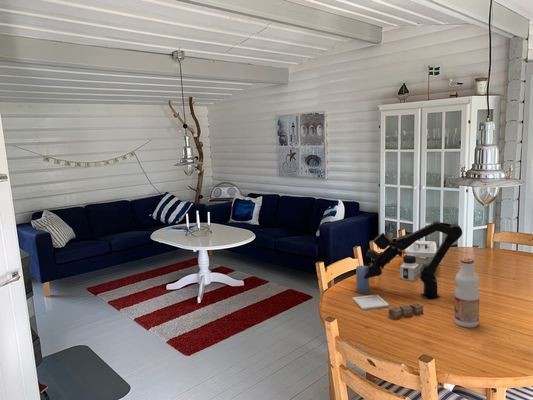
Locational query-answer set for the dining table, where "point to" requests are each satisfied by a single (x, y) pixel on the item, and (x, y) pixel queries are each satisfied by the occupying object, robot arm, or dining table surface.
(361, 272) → the blue cylinder
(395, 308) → the walnut block
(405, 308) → the walnut block
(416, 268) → the container
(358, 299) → the tray
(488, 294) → the dining table surface
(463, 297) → the fruit juice
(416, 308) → the walnut block
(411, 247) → the storage basket
